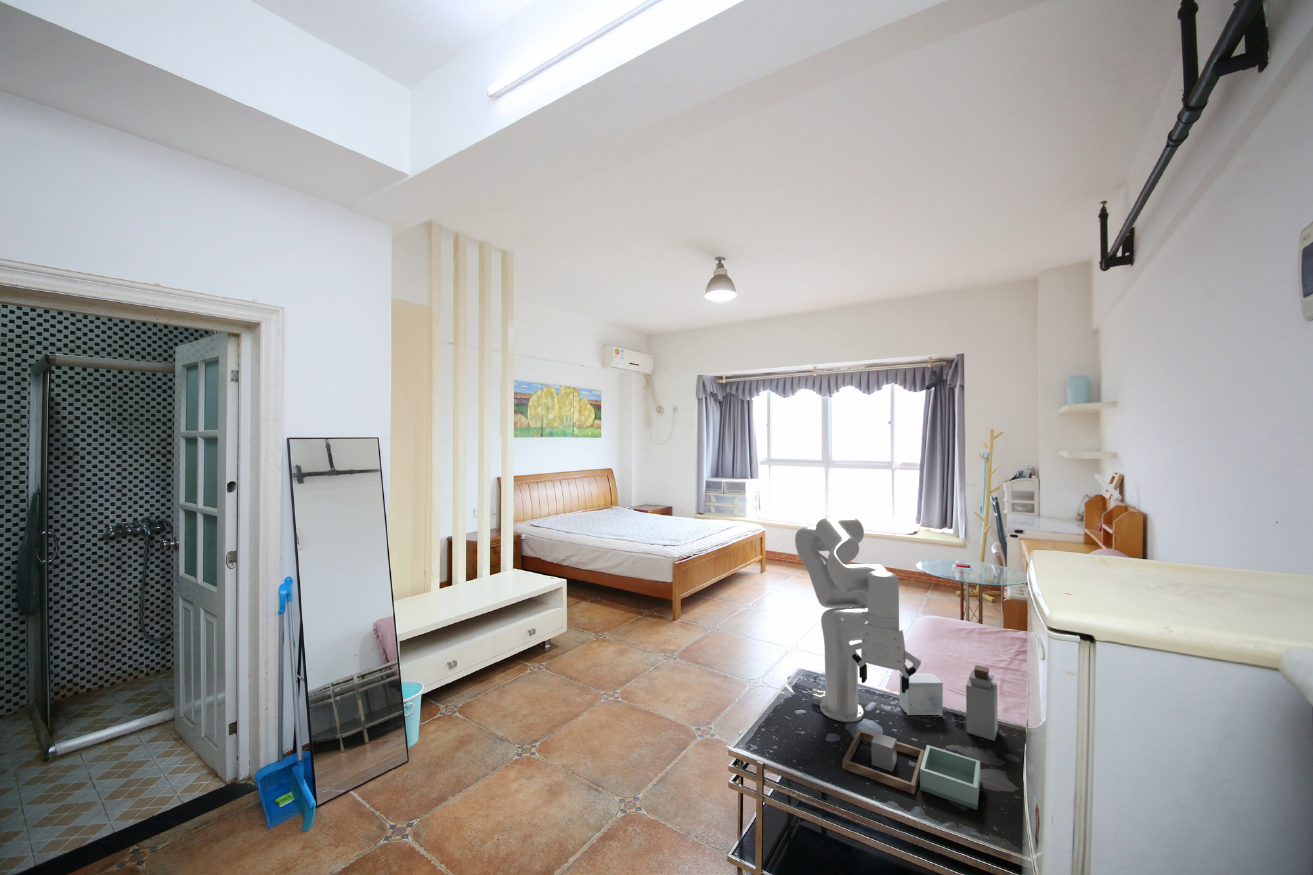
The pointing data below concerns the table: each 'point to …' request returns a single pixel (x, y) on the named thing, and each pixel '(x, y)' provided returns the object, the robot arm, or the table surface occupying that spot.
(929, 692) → the skincare box
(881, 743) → the stone block
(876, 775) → the brown wooden frame
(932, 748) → the sage green bin
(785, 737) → the table surface
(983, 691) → the perfume bottle
